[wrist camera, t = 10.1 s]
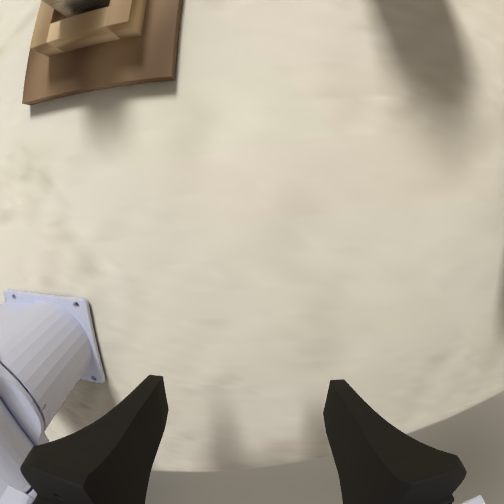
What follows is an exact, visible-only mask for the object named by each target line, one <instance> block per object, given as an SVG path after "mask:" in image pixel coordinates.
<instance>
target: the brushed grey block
mask: <svg viewBox="0 0 504 504" xmlns="http://www.w3.org/2000/svg"><path fill="white" fill-rule="evenodd" d="M42 1H43V2H45V3H46V4H48V5H49V6H51V7H52V8H54V9H55V10H57V11H58V12H60V13H61V14H63V15H64V16H66V17H67V18H69V17H72V16H76V15H79V14H82V13H86V12H89V11H93V10H97V9H101V8H105V7H109V4H110V0H42Z"/></svg>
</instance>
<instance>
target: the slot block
mask: <svg viewBox="0 0 504 504" xmlns="http://www.w3.org/2000/svg"><path fill="white" fill-rule="evenodd" d="M181 8H182V0H110V4H109V7H105V8H101V9H97V10H93V11H89V12H86V13H82V14H79V15H76V16H72V17H69V18H67V17H66V16H64V15H63V14H61V13H60V12H58V11H57V10H55V9H54V8H52V7H51V6H49V5H48V4H46V3H45V2H43V1H41V5H40V8H39V12H38V16H37V20H36V24H35V28H34V32H33V36H32V41H31V46H30V52H29V58H28V63H27V70H26V76H25V84H24V92H23V101H22V104H27V105H32V104H35V103H39V102H43V101H47V100H51V99H55V98H59V97H63V96H68V95H73V94H77V93H82V92H88V91H93V90H99V89H105V88H111V87H117V86H124V85H132V84H140V83H149V82H159V81H171V80H175V72H176V59H177V47H178V36H179V26H180V17H181Z"/></svg>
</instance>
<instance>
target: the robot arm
mask: <svg viewBox="0 0 504 504" xmlns="http://www.w3.org/2000/svg"><path fill="white" fill-rule="evenodd" d="M15 296H16V297H15ZM4 298H5V302H4V303H3V304H1V305H0V504H145V498H146V492H147V487H148V481H149V476H150V472H151V468H152V465H153V462H154V459H155V456H156V453H157V450H158V447H159V444H160V441H161V438H162V435H163V432H164V429H165V425H166V420H167V415H168V404H167V399H166V393H165V387H164V381H163V376H155V375H149V376H148V377H147V378H146V379H145V380H144V381H143V382H142V383H141V384H140V385H139V386H137V387H136V388H135V389H134V390H133V391H132V392H131V393H130V394H129V395H128V396H127V397H126V398H125V399H124V400H123V401H122V402H120V403H119V404H118V405H117V406H116V407H114V408H113V409H112V410H111V411H109V412H108V413H107V414H105V415H104V416H103V417H101V418H100V419H98V420H97V421H95V422H94V423H92V424H90V425H89V426H87V427H85V428H83V429H81V430H79V431H77V432H75V433H73V434H71V435H68V436H66V437H63V438H61V439H58V440H55V441H52V442H49V440H48V438H47V437H46V435H45V432H44V431H45V430H46V428H47V427H48V425H49V424H50V422H51V421H52V419H53V418H54V416H55V415H56V413H57V412H58V410H59V409H60V407H61V406H62V404H63V403H64V401H65V400H66V398H67V397H68V395H69V394H70V392H71V391H72V389H73V388H74V387H75V385H76V384H77V382H78V381H79V379H81V380H85V381H90V382H96V383H104V381H105V375H104V371H103V367H102V363H101V359H100V355H99V351H98V347H97V343H96V338H95V333H94V329H93V324H92V319H91V314H90V308H89V304H88V301H87V300H86V299H84V298H78V297H68V296H59V295H50V294H41V293H33V292H25V291H17V290H10V289H7V290H5V291H4ZM76 302H77V303H78V304H79V306H77V305H76ZM94 376H95V377H96V378H95V377H94ZM323 415H324V422H325V428H326V433H327V437H328V440H329V444H330V447H331V450H332V454H333V457H334V460H335V464H336V467H337V470H338V474H339V479H340V485H341V492H342V499H343V504H452V502H454V497H453V495H452V493H453V492H454V491H455V490H456V488H457V487H458V486H459V485H460V484H461V482H462V481H463V480H464V478H465V476H466V470H465V468H464V466H463V464H462V462H461V461H460V459H459V458H458V457H457V456H456V455H453V454H450V453H447V452H443V451H440V450H437V449H435V448H432V447H429V446H428V445H425V444H423V443H420V442H419V441H417V440H415V439H413V438H411V437H409V436H408V435H406V434H404V433H403V432H401V431H400V430H398V429H397V428H395V427H394V426H393V425H391V424H390V423H388V422H387V421H386V420H385V419H383V418H382V417H381V416H380V415H379V414H377V413H376V412H375V411H374V410H373V409H372V408H371V407H370V406H369V405H368V404H367V403H366V402H365V401H364V400H363V399H362V398H361V397H360V396H359V395H358V394H357V393H356V392H355V391H354V390H353V389H352V388H351V387H350V385H349V384H348V383H347V382H346V381H345V380H344V379H343V380H330V385H329V390H328V394H327V399H326V403H325V408H324V412H323ZM461 504H485V502H484V500H483V498H482V496H481V495H478V496H476V497H475V498H472V499H470V500H468V501H466V502H463V503H461Z"/></svg>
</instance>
